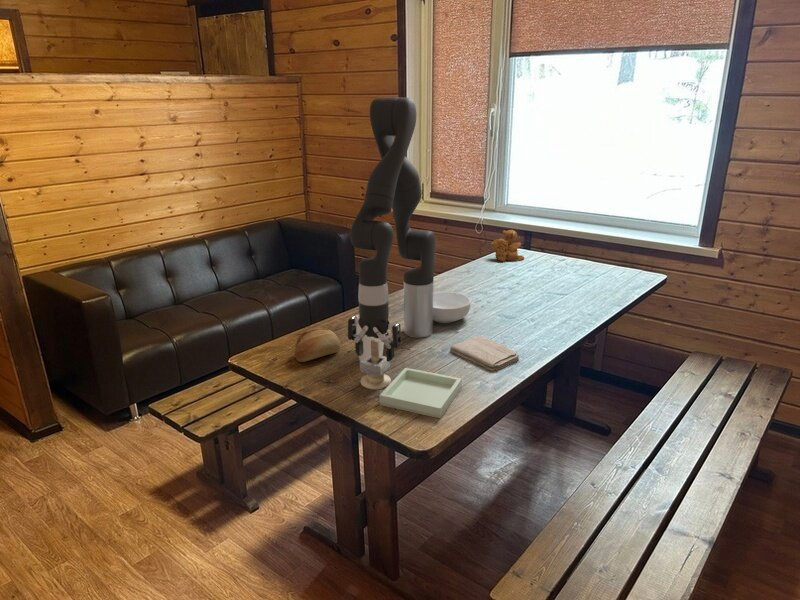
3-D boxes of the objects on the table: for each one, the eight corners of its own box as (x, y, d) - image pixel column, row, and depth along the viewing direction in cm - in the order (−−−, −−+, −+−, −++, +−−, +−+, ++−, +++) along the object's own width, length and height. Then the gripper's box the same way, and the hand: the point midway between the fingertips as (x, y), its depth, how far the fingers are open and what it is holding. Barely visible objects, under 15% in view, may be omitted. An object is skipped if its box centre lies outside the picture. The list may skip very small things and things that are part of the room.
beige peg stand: (369, 372, 160) (367, 332, 155) (395, 378, 157) (395, 337, 152) (355, 386, 153) (353, 344, 149) (382, 391, 150) (382, 349, 146)
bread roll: (286, 358, 169) (284, 333, 166) (327, 343, 178) (326, 319, 176) (306, 369, 162) (304, 343, 159) (347, 353, 172) (346, 328, 169)
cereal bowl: (467, 330, 186) (468, 310, 184) (416, 326, 190) (416, 306, 187) (472, 311, 202) (472, 292, 200) (424, 308, 205) (424, 289, 203)
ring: (370, 362, 157) (370, 353, 156) (390, 365, 155) (390, 357, 154) (360, 371, 152) (359, 362, 151) (380, 375, 150) (380, 367, 149)
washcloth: (494, 374, 159) (495, 364, 158) (447, 352, 172) (448, 343, 171) (521, 361, 167) (522, 351, 166) (475, 341, 179) (475, 332, 178)
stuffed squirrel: (526, 259, 260) (528, 231, 255) (501, 264, 253) (503, 235, 248) (510, 254, 268) (512, 226, 263) (487, 259, 261) (488, 230, 256)
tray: (405, 376, 157) (405, 367, 157) (461, 387, 151) (462, 378, 150) (379, 404, 144) (379, 395, 143) (440, 418, 138) (440, 408, 137)
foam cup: (347, 360, 167) (345, 318, 162) (371, 350, 173) (370, 310, 168) (369, 371, 161) (368, 328, 156) (393, 360, 167) (393, 318, 162)
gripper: (405, 298, 147) (405, 356, 152) (355, 291, 152) (357, 347, 158) (393, 308, 140) (393, 368, 146) (341, 300, 146) (343, 358, 151)
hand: (374, 357), depth 152 cm, fingers open, 8 cm apart
